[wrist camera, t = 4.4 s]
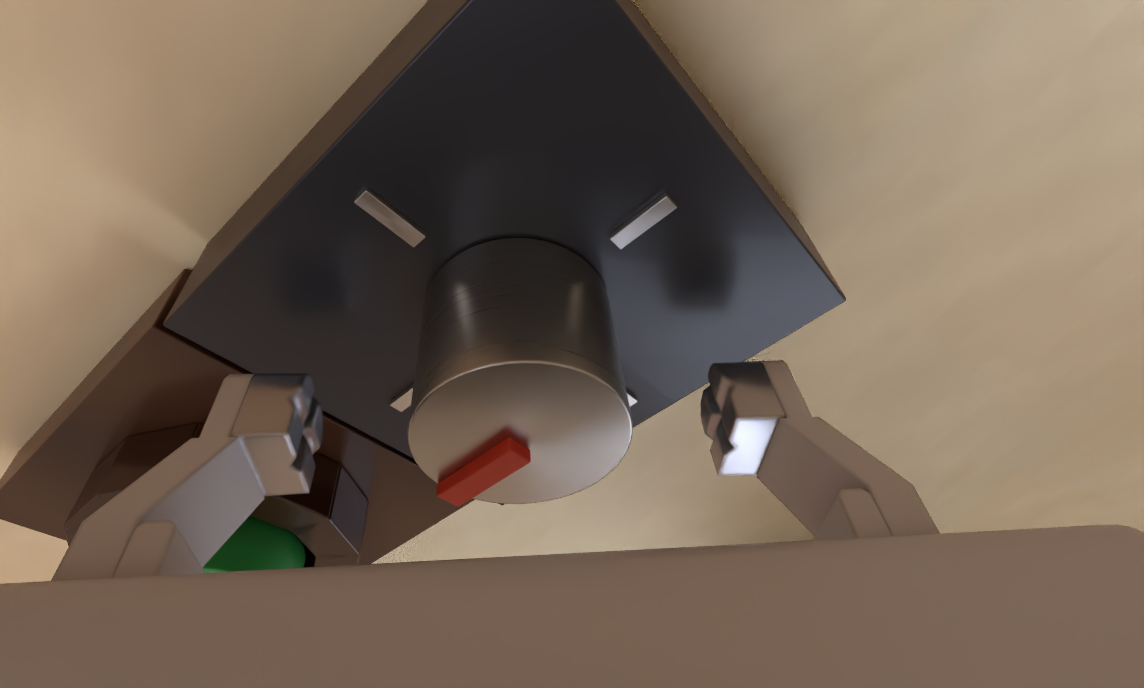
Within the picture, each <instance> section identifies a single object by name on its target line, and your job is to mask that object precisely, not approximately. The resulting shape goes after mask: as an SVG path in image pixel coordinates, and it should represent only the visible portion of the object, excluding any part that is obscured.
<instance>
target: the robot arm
mask: <svg viewBox="0 0 1144 688" xmlns="http://www.w3.org/2000/svg"><path fill="white" fill-rule="evenodd" d="M708 379H709V382H710V386H709V387H707V388H706V389H705V390H704V391H703V395H702V399H701V420H702V425H703V429H704V432H705V434H706V435H707V436H708V437H709V438H711V439H712V440H713V442H712V445H711V449H710V452H711V455H712V458H713V462H714V465H715V468H716V471H717V474H718V476H735V475H757V478H758V479H759V480H760V481H761V482H762V483H763V484H764V485H765V486H766V487H767V488H768V489H769V490H770V491H771V492H772V493H773V494H774V495H775V496H776V497H777V498H778V499H779V500H780V501H781V502H782V503H783V504H784V505H785V506H786V507H787V508H788V509H789V510H790V511H791V512H792V513H793V515H794V516H795V517H796V518H797V519H798V520H799V521H800V522H801V523H802V524H803V525H804V526H805V527H806V528H807V529H808V530H809V531H810V532H811V533H812V534H813V535H814V536H815V537H814V539H813V540H812V541H793V542H774V543H755V544H736V545H717V546H698V547H680V548H662V549H643V550H625V551H606V552H588V553H569V554H550V555H532V556H513V557H494V558H475V559H456V560H437V561H418V562H400V563H381V564H362V565H344V566H325V567H306V568H287V569H269V570H250V571H231V572H213V573H205V571H204V570H203V568H202V567H203V566H204V565H205V564H206V563H207V562H208V561H209V560H210V558H211V557H212V556H213V555H214V554H215V553H216V552H217V551H218V550H219V549H220V547H221V546H222V545H223V544H224V543H225V542H226V541H227V540H228V539H229V537H230V536H231V535H232V534H233V533H234V532H235V531H236V530H237V529H238V528H239V526H240V525H241V524H242V523H243V522H244V521H245V520H246V519H247V518H248V517H249V515H250V514H251V513H252V512H253V511H254V510H255V509H256V508H257V507H258V505H259V504H260V503H261V502H262V501H263V500H264V499H265V498H264V496H275V495H290V494H304V493H309V491H310V487H311V483H312V479H313V475H314V471H315V467H316V465H315V461H314V458H313V454H314V453H315V452H316V451H317V450H318V449H319V448H320V446H321V442H322V437H323V422H324V421H323V413H322V408H321V405H320V402H319V401H318V400H316V399H315V398H313V393H314V389H315V385H314V382H313V379H312V376H311V375H310V374H308V373H256V374H229V375H228V376H227V377H226V378H225V379H224V380H223V382H222V385H221V387H220V389H219V392H218V394H217V396H216V399H215V401H214V404H213V406H212V408H211V411H210V413H209V415H208V418H207V420H206V423H205V425H204V427H203V430H202V432H201V434H200V437H199V438H191V439H190V440H188V441H187V442H186V443H184V444H183V445H182V446H180V447H179V448H178V449H176V450H175V451H174V452H173V453H171V454H170V455H169V456H167V457H166V458H165V459H163V460H162V461H161V462H159V463H158V464H157V465H156V466H154V467H153V468H152V469H150V470H149V471H148V472H146V473H145V474H144V475H142V476H141V477H140V478H139V479H137V480H136V481H135V482H133V483H132V484H131V485H129V486H128V487H127V488H125V489H124V490H123V491H122V492H120V493H119V494H118V495H116V496H115V497H114V498H112V499H111V500H110V501H108V502H107V503H106V504H105V505H103V506H102V507H101V508H99V509H98V510H97V511H95V512H94V513H93V514H91V515H90V516H89V517H88V518H86V519H85V520H84V521H82V523H81V525H80V527H79V529H78V531H77V532H76V534H75V536H74V538H73V540H72V542H71V544H70V546H69V548H68V550H67V551H66V553H65V555H64V557H63V559H62V561H61V563H60V565H59V567H58V569H57V570H56V572H55V574H54V576H53V578H52V580H51V581H45V582H26V583H8V584H0V688H1144V533H1143V532H1141V531H1140V530H1138V529H1135V528H1132V527H1129V526H1123V525H1087V526H1071V527H1053V528H1035V529H1017V530H999V531H981V532H962V533H944V534H940V533H939V531H938V529H937V527H936V526H935V524H934V522H933V520H932V518H931V517H930V515H929V513H928V511H927V509H926V508H925V506H924V504H923V502H922V501H921V499H920V497H919V495H918V493H917V492H916V490H915V488H914V486H913V485H912V484H911V483H910V482H908V481H907V480H905V479H904V478H903V477H901V476H900V475H899V474H897V473H896V472H894V471H893V470H892V469H890V468H889V467H887V466H886V465H885V464H883V463H882V462H881V461H879V460H878V459H876V458H875V457H874V456H872V455H871V454H869V453H868V452H867V451H865V450H864V449H862V448H861V447H860V446H858V445H857V444H856V443H854V442H853V441H851V440H850V439H849V438H847V437H846V436H844V435H843V434H842V433H840V432H839V431H838V430H836V429H835V428H833V427H832V426H831V425H829V424H828V423H826V422H825V421H824V420H822V419H821V418H820V417H812V416H811V414H810V412H809V410H808V407H807V405H806V403H805V401H804V399H803V397H802V395H801V393H800V391H799V389H798V387H797V385H796V382H795V380H794V378H793V376H792V374H791V372H790V370H789V368H788V366H787V364H786V363H785V362H784V361H783V360H778V361H759V362H757V361H752V362H723V363H713V364H712V365H711V367H710V369H709V372H708Z"/></svg>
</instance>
